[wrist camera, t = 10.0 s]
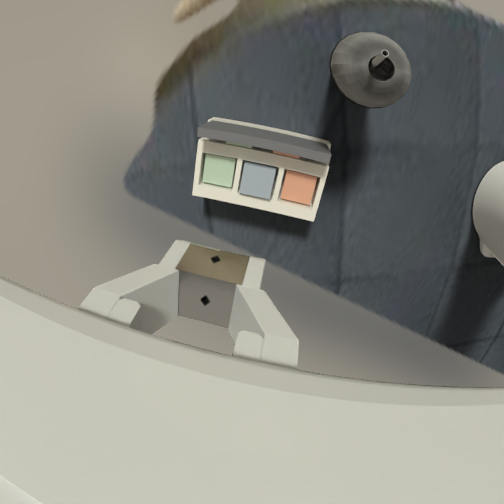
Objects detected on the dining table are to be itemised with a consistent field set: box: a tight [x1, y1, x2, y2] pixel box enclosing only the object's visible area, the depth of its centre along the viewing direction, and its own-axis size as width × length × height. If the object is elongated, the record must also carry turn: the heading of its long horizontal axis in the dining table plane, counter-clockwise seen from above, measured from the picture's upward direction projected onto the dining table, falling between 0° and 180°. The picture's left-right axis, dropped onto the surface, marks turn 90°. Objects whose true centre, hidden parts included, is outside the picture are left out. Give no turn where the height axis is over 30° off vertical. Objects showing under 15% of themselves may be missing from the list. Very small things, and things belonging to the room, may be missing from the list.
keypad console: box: [193, 117, 331, 222], centre depth 36 cm, size 15×9×8 cm, turn 80°
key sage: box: [202, 153, 237, 187], centre depth 37 cm, size 4×4×2 cm
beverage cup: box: [329, 32, 411, 108], centre depth 23 cm, size 7×7×20 cm
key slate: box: [239, 160, 277, 200], centre depth 36 cm, size 4×4×2 cm
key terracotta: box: [281, 169, 317, 205], centre depth 36 cm, size 4×4×2 cm
